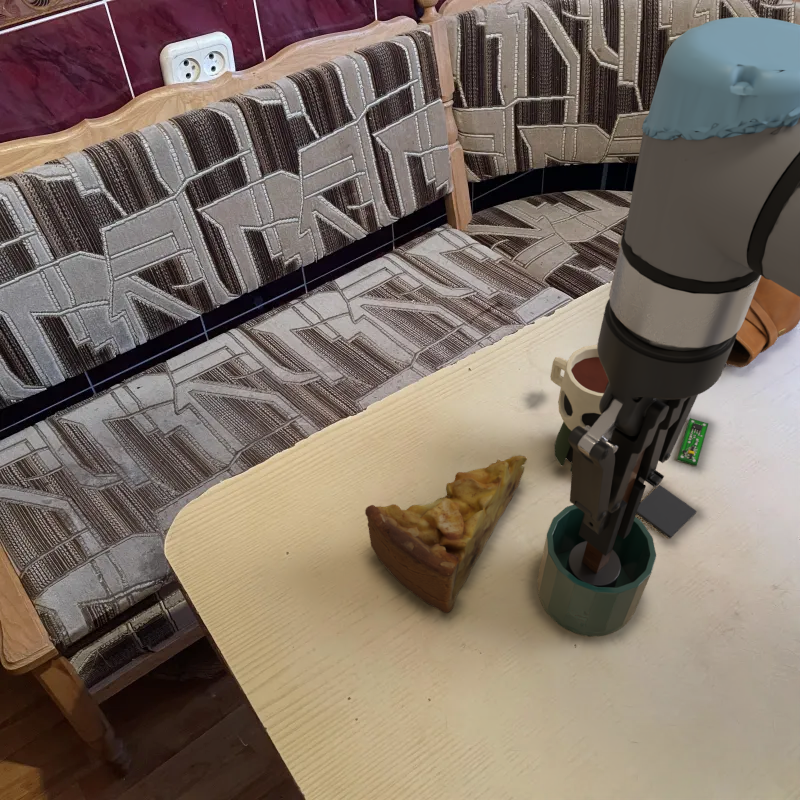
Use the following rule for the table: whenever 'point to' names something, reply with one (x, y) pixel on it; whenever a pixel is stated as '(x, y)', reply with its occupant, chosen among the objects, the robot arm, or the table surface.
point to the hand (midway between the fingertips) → (604, 533)
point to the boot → (764, 322)
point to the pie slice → (444, 531)
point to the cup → (584, 602)
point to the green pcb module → (693, 442)
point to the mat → (665, 511)
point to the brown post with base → (599, 553)
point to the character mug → (577, 395)
